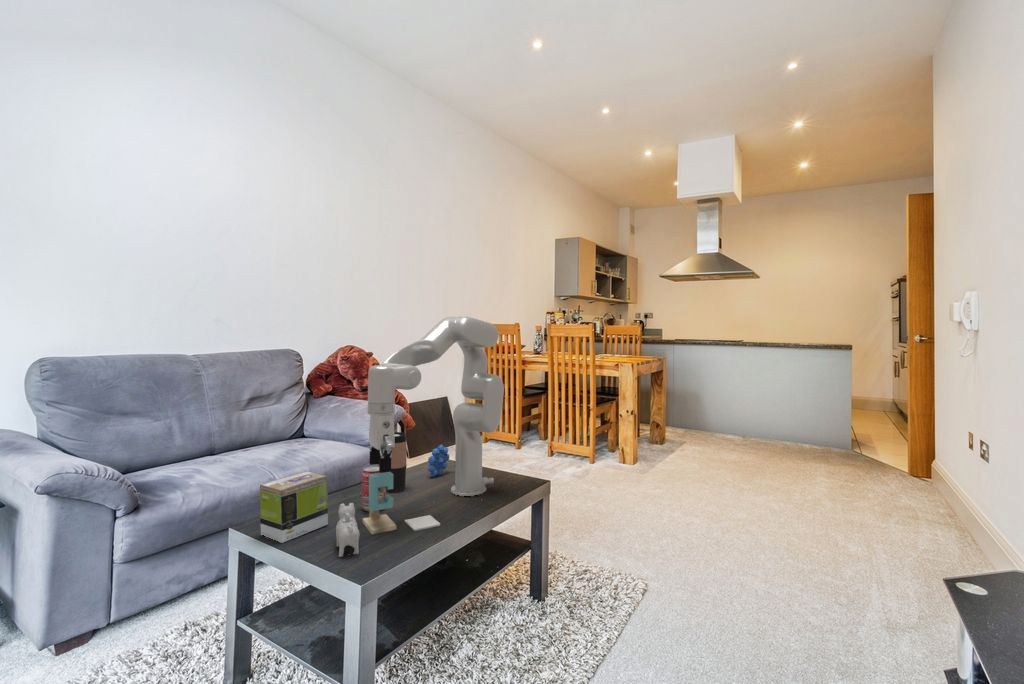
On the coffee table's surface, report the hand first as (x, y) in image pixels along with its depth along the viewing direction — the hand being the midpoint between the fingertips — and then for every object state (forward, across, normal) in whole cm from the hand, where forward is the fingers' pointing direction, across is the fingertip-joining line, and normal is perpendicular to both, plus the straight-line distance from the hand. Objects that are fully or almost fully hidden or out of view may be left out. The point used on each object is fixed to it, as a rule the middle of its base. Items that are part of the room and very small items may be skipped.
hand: (380, 467), depth 139 cm
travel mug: (+17, +32, -15) cm, 39 cm away
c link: (+12, 0, -1) cm, 12 cm away
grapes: (+17, +41, -35) cm, 56 cm away
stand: (+18, +2, -1) cm, 18 cm away
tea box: (+18, +11, +21) cm, 30 cm away
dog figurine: (+18, -8, +11) cm, 22 cm away
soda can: (+18, +17, -3) cm, 25 cm away
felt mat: (+17, -3, -12) cm, 21 cm away
